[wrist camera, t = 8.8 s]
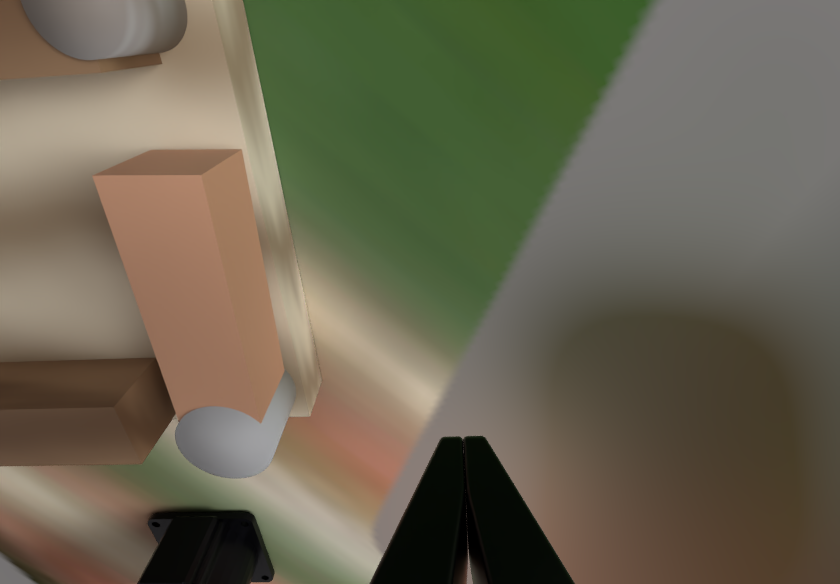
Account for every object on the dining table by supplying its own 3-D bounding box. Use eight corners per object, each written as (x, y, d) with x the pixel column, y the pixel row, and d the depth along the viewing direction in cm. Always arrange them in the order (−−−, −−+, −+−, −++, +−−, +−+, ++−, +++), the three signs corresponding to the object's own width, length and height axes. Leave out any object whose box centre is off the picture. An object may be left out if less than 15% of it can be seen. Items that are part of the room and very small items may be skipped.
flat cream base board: (321, 380, 24) (290, 474, 19) (-20, 389, 25) (-134, 480, 20) (228, -70, 15) (122, -116, 10) (-292, -24, 16) (-616, -45, 11)
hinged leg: (301, 419, 21) (280, 479, 18) (221, 418, 21) (188, 477, 19) (251, 148, 16) (211, 175, 13) (143, 149, 16) (78, 176, 13)
